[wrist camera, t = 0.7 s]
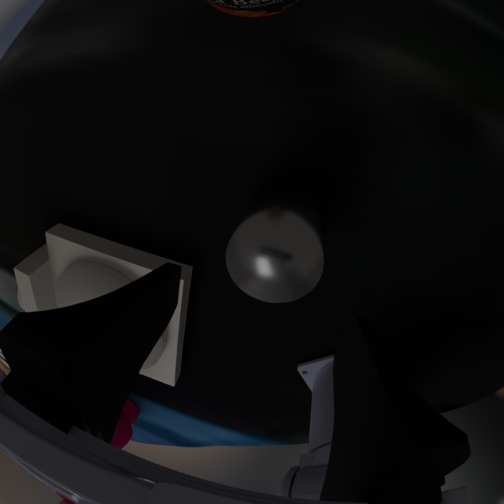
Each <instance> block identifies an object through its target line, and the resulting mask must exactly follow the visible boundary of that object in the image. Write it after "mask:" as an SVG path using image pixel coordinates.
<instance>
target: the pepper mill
mask: <svg viewBox="0 0 504 504" xmlns="http://www.w3.org/2000/svg"><path fill="white" fill-rule="evenodd" d="M138 415H139V410H138V407H137V406H136V405H135V404H134V403H133V402H132V401H131V400H130V399H128V398H127V401H126V403H125V405H124V408H123V410H122V413H121V415H120V418H119V421H118V423H117V426H116V429H115V432H114V435H113V437H112V440H111V443H110V444H111V445H113V446H115V447H117V448H119V449H122V448H123V447H124V446H125V445H126V444H127V443H128V442H129V440H130V439H131V437H132V434H133V432H132V427H131V424H132V423H134V422H135V421H136V419H137V417H138ZM56 492H57V491H56ZM57 493H58V495H59V496H60V497H61V498H62V499H63V500H64V501H61V502H60V504H77V503H75V502H73V501H72V500H70V499H68V498H67V497H65V496H63V495H62V494H60V493H59V492H57Z"/></svg>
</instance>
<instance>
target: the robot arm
mask: <svg viewBox="0 0 504 504" xmlns="http://www.w3.org/2000/svg"><path fill="white" fill-rule="evenodd" d="M181 270H182V266H180V265H176V264H173V263H170V262H167V263H165V264H164V265H162V266H160V267H158V268H156V269H155V270H153V271H151V272H149V273H147V274H146V275H144V276H142V277H140V278H138V279H137V280H135V281H133V282H131V283H129V284H127V285H125V286H123V287H121V288H118V289H116V290H114V291H112V292H110V293H107V294H105V295H102V296H100V297H97V298H94V299H91V300H88V301H84V302H81V303H77V304H74V305H70V306H66V307H61V308H56V309H50V310H43V311H33V312H19V313H18V314H17V315H16V316H15V317H14V318H13V319H12V320H11V321H10V322H9V323H8V324H7V325H6V326H5V327H4V328H3V329H2V330H1V331H0V349H1V351H2V353H3V355H4V357H5V359H6V361H7V363H8V365H9V367H10V369H11V372H10V373H9V374H8V375H6V374H5V373H4V372H3V371H2V370H1V369H0V450H1V451H2V452H3V453H5V454H6V455H7V456H8V457H9V458H11V459H12V460H13V461H14V462H16V463H17V464H19V465H20V466H21V467H22V468H24V469H25V470H26V471H28V472H29V473H30V474H32V475H33V476H35V477H36V478H37V479H39V480H40V481H42V482H43V483H45V484H46V485H48V486H49V487H51V488H52V489H54V490H55V491H57V492H59V493H60V494H62V495H63V496H65V497H67V498H68V499H70V500H72V501H73V502H75V503H77V504H470V500H469V492H468V487H462V488H456V489H450V490H446V491H443V492H441V486H443V485H444V484H445V478H444V476H445V475H447V474H449V473H450V472H452V471H453V470H455V469H456V468H458V467H459V466H461V465H462V464H463V463H464V462H466V460H467V459H468V458H469V456H470V454H471V450H470V445H469V440H468V436H467V434H466V433H464V432H463V431H462V430H460V429H459V428H457V427H456V426H454V425H453V424H452V423H450V422H449V421H448V420H447V419H446V418H444V417H443V416H442V415H441V414H440V413H438V412H437V411H436V410H435V409H434V408H433V407H432V406H431V405H430V404H429V403H428V402H427V401H426V400H425V399H424V398H423V397H422V396H421V395H420V394H419V392H418V391H417V390H416V389H415V388H414V387H413V385H412V384H411V383H410V382H409V381H408V379H407V378H406V377H405V375H404V374H403V373H402V371H401V370H400V369H399V367H398V366H397V364H396V363H395V361H394V360H393V358H392V357H391V355H390V354H389V352H388V351H387V349H386V348H385V346H384V344H383V343H382V341H381V339H380V338H379V336H378V335H377V333H376V331H375V330H374V328H373V327H372V325H371V323H370V322H369V321H368V319H367V318H364V317H360V316H356V315H354V316H353V317H352V319H351V321H350V323H349V325H348V327H347V328H346V330H345V332H344V334H343V335H342V337H341V339H340V341H339V342H338V344H337V346H336V348H335V352H334V354H333V355H330V356H326V357H323V358H319V359H316V360H312V361H308V362H305V363H301V364H299V365H298V368H297V369H298V371H299V373H300V374H301V376H302V377H303V379H304V380H305V382H306V383H307V385H308V386H309V388H310V389H311V391H312V408H311V423H310V437H309V449H308V454H302V455H301V456H300V465H299V466H295V467H292V468H291V469H290V470H289V471H288V472H287V474H286V475H285V476H284V478H283V480H282V482H281V484H280V488H279V493H278V496H277V495H270V494H265V493H259V492H254V491H249V490H244V489H239V488H235V487H231V486H226V485H222V484H219V483H215V482H211V481H207V480H204V479H200V478H197V477H194V476H190V475H187V474H184V473H181V472H178V471H175V470H172V469H169V468H166V467H164V466H161V465H158V464H155V463H153V462H150V461H148V460H145V459H143V458H140V457H137V456H135V455H133V454H130V453H128V452H126V451H124V450H122V449H119V448H117V447H115V446H113V445H111V444H110V443H111V440H112V437H113V435H114V432H115V429H116V426H117V423H118V421H119V418H120V415H121V413H122V410H123V408H124V405H125V403H126V401H127V398H128V396H129V394H130V391H131V389H132V387H133V385H134V382H135V380H136V378H137V376H138V374H139V372H140V370H141V368H142V366H143V364H144V362H145V361H146V359H147V358H148V356H149V354H150V353H151V351H152V350H153V348H154V347H155V345H156V343H157V342H158V340H159V339H160V337H161V336H162V334H163V332H164V331H165V329H166V328H167V326H168V324H169V322H170V320H171V318H172V316H173V314H174V312H175V310H176V307H177V305H178V298H179V288H180V279H181Z"/></svg>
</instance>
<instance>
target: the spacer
mask: <svg viewBox="0 0 504 504" xmlns="http://www.w3.org/2000/svg"><path fill="white" fill-rule="evenodd" d="M226 264H227V268H228V271H229V273H230V276H231V277H232V279H233V281H234V282H235V283H236V284H237V286H238V287H239V288H240V289H242V290H243V291H244V292H245V293H247V294H248V295H250V296H252V297H254V298H256V299H259V300H262V301H265V302H271V303H284V302H290V301H293V300H296V299H299V298H301V297H303V296H304V295H306V294H307V293H309V292H310V291H311V290H312V289H313V288H314V287H315V286H316V284H317V283H318V281H319V279H320V277H321V275H322V271H323V264H324V259H323V245H322V232H321V220H320V212H319V209H318V206H317V204H316V202H315V201H314V199H313V198H312V197H311V196H310V195H309V194H308V193H307V192H305V191H304V190H302V189H300V188H298V187H296V186H293V185H287V184H278V185H273V186H270V187H267V188H265V189H263V190H262V191H260V192H259V193H258V194H257V195H256V196H255V197H254V198H253V200H252V202H251V203H250V205H249V207H248V209H247V210H246V212H245V214H244V216H243V218H242V220H241V221H240V223H239V225H238V227H237V229H236V230H235V232H234V234H233V236H232V238H231V240H230V241H229V244H228V247H227V251H226Z"/></svg>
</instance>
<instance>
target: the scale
mask: <svg viewBox="0 0 504 504" xmlns="http://www.w3.org/2000/svg"><path fill="white" fill-rule="evenodd" d="M45 233H46V241H47V244H45V245H43V246H42V247H41V248H39V249H38V250H37V251H35V252H34V253H33V254H31V255H30V256H29V257H27V258H26V259H25V260H23V261H22V262H21V263H19V264H18V265H17V266H16V267H14V271H15V276H16V280H17V284H18V301H19V304H20V306H21V307H22V308H23V309H24V310H25V312H33V311H43V310H50V309H56V308H61V307H66V306H70V305H74V304H77V303H81V302H84V301H88V300H91V299H94V298H97V297H100V296H102V295H105V294H107V293H110V292H112V291H114V290H116V289H118V288H121V287H123V286H125V285H127V284H129V283H131V282H133V281H135V280H137V279H138V278H140V277H142V276H144V275H146V274H147V273H149V272H151V271H153V270H155V269H156V268H158V267H160V266H162V265H164V264H165V263H167V262H170V263H173V264H176V265H180V266H182V270H181V279H180V288H179V298H178V305H177V307H176V310H175V312H174V314H173V316H172V318H171V320H170V322H169V324H168V326H167V328H166V329H165V331H164V332H163V334H162V336H161V337H160V339H159V340H158V342H157V343H156V345H155V347H154V348H153V350H152V351H151V353H150V354H149V356H148V358H147V359H146V361H145V362H144V364H143V366H142V368H141V370H140V372H139V373H140V374H143V375H145V376H148V377H150V378H153V379H155V380H158V381H161V382H163V383H166V384H169V385H172V386H175V384H176V381H177V379H178V377H179V375H180V371H181V361H182V351H183V342H184V332H185V324H186V315H187V307H188V299H189V291H190V284H191V276H192V269H193V267H192V266H189V265H185V264H182V263H179V262H176V261H173V260H169V259H166V258H163V257H160V256H157V255H153V254H150V253H147V252H144V251H141V250H138V249H135V248H132V247H128V246H125V245H122V244H119V243H116V242H113V241H110V240H107V239H104V238H101V237H98V236H95V235H92V234H89V233H86V232H83V231H80V230H77V229H74V228H71V227H69V226H66V225H63V224H60V223H58V224H57V225H55V226H54V227H52V228H51V229H49V230H48V231H46V232H45Z"/></svg>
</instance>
